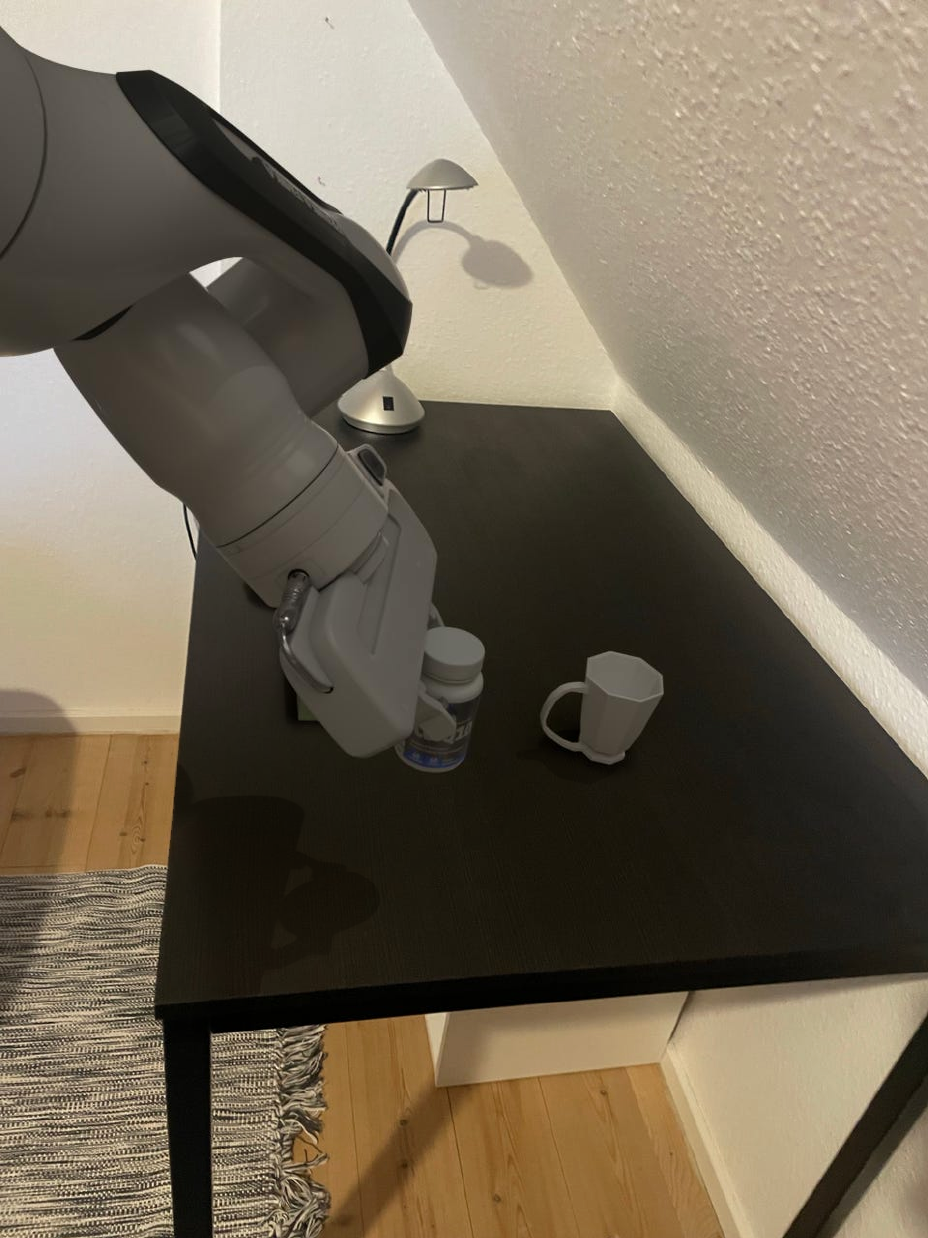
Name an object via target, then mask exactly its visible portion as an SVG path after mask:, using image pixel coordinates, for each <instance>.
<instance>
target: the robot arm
mask: <svg viewBox="0 0 928 1238" xmlns="http://www.w3.org/2000/svg"><path fill="white" fill-rule="evenodd" d="M234 258H239V260H237V261H235V263H234V264H231V266H229V267H228V268H227V269H226V270H225V271H223V272H222V273H221V274H220V275H219V276H217V277H216V278H215V279H213V281H211V282H210V283H208V284H207V285H206V286H204V285H203V283H202V282H200V281H199V280H198V279H197V277H195V276H194V274H192V273H191V272H194V271H196V270H198V269H200V268H202V267H205V266H207V265H210V264H213V263H216V262H219V261H223V260H226V259H234ZM396 264H397V263H395V261H394V260H393V258H392V257H391V255H390V254H389V253H388V251H387V250H386V249H385V247H384V246H383V245H382V244H381V243H380V242H379V241H378V239H377V238H376V237H375V236H374V235H373V234H372V233H370V232H369V231H368V229H366V228H365V227H363V226H362V225H361V224H360V223H358V222H356V221H355V220H353V219H352V218H350V217H348V216H346V215H345V214H344V213H343V212H341V210H340V209H338V208H336V206H334V205H331V204H329V203H327V202H325V200H322V199H321V198H320V197H319V196H317V195H316V194H315V193H314V192H313V191H311V190H310V189H309V188H308V187H307V186H306V185H305V184H303V183H302V182H301V181H300V180H299V179H298V178H296V176H294V175H293V174H292V173H290V171H288V170H287V169H286V168H285V167H284V166H282V165H281V164H280V163H279V162H278V161H276V159H274V157H272V156H271V155H270V154H268V153H267V151H265V150H263V148H262V147H260V146H259V145H258V144H257V143H256V142H255V141H253V140H252V139H251V138H250V137H249V136H247V135H246V134H245V133H244V132H242V131H241V129H239V128H238V127H237V126H236V125H234V124H233V123H231V122H230V121H229V120H227V118H225V117H224V116H223V115H222V114H220V113H219V112H218V111H217V110H215V109H214V108H213V107H212V106H210V105H209V104H207V103H206V102H205V101H203V100H202V99H201V98H199V97H198V96H197V95H196V94H193V93H192V92H191V91H190V90H188V89H187V88H186V87H184V86H182V85H181V84H179V83H177V82H175V81H173V80H172V79H170V78H168V77H166V76H164V75H163V74H161V73H158V72H157V71H155V70H152V69H142V70H141V69H139V70H126V71H116V72H115V73H109V72H101V71H94V70H88V69H83V68H78V67H73V66H70V65H67V64H62V63H60V62H57V61H53V60H50V59H48V58H46V57H43V56H40V55H38V54H36V53H35V52H32V51H30V50H29V49H27V48H25V47H24V46H22V45H21V44H19V43H18V42H17V41H16V40H15V39H14V38H13V37H12V36H11V35H10V34H9V33H8V32H7V31H6V30H5V29H4V28H3V27H2V26H1V25H0V358H10V357H21V356H27V355H32V354H36V353H37V354H38V353H41V352H44V351H47V350H51V349H53V353H54V354H55V356H56V358H57V360H58V361H59V363H60V365H61V366H62V368H63V369H64V371H65V373H66V374H67V375H68V377H69V379H70V380H71V382H72V383H73V384H74V386H75V388H76V389H77V390H78V392H79V393H80V394H81V396H82V397H83V398H84V400H85V401H86V402H87V404H88V405H89V407H90V408H91V409H92V411H93V412H94V414H95V415H96V416H97V418H98V419H99V420H100V422H101V423H102V424H103V425H104V427H105V428H106V429H107V430H108V432H109V433H110V434H111V435H112V436H113V438H114V439H115V441H117V443H118V444H119V445H120V446H121V448H123V450H124V451H125V452H126V454H128V455H129V457H130V458H131V460H132V461H134V462H135V464H136V465H137V466H138V467H139V468H140V469H141V470H142V471H143V472H144V474H145V475H146V476H147V477H148V478H149V479H150V480H151V481H152V482H153V483H154V484H155V485H156V486H158V487H159V488H160V489H162V490H163V491H165V492H167V493H168V494H170V495H172V496H173V497H174V498H176V499H178V501H180V503H182V504H183V505H184V506H185V507H186V508H187V509H188V510H189V511H190V513H191V514H192V516H194V518H195V520H196V521H197V524H198V526H199V528H200V529H201V532H202V534H203V536H204V537H205V539H206V540H207V541H208V543H209V544H210V546H212V547H213V548H214V550H216V551H217V552H218V554H220V556H221V557H222V559H224V560H225V561H226V563H228V565H230V567H231V568H232V569H233V570H234V571H235V572H236V573H237V574H238V575H239V577H240V578H241V579H242V580H243V581H244V582H245V583H246V584H247V585H248V586H249V587H250V588H251V589H252V590H253V592H254V593H255V594H256V595H257V596H258V597H259V598H260V599H261V600H262V601H263V602H264V603H265V604H266V605H267V606H268V607H269V608H273V609H274V608H276V609H275V612H274V614H273V618H272V628H273V630H274V631H275V632H276V633H277V637H278V643H279V645H280V646H279V650H278V651H279V653H278V654H279V655H278V657H279V662H280V666H281V669H282V670H283V673H284V675H285V677H286V679H287V681H288V682H289V684H290V685H291V687H292V688H293V690H294V692H295V693H296V695H297V694H298V695H299V697H300V698H301V699H302V701H303V702H304V703H305V705H306V706H307V707H308V709H309V710H310V711H311V712H312V714H313V715H314V716H315V717H316V719H317V720H318V721H317V722H319V724H320V725H321V727H323V729H324V730H325V731H326V732H327V733H328V735H329V736H330V737H331V738H332V739H333V741H334V742H335V743H336V744H337V746H339V748H341V749H342V750H343V751H344V752H345V753H346V754H347V755H349V756H351V757H354V758H358V759H370V758H372V757H374V756H376V755H379V754H381V753H382V752H384V751H387V750H389V749H391V748H392V747H394V745H396V744H398V743H400V742H402V741H403V740H405V739H406V738H408V737H409V736H410V735H411V734H412V731H413V728H414V725H418V726H419V727H420V728H421V729H422V730H423V731H424V733H425V734H426V735H427V736H428V737H429V738H430V739H431V740H433V741H441V740H443V739H445V738H447V737H449V736H451V735H453V734H454V733H455V732H456V728H457V725H456V723H457V712H456V710H455V709H454V708H452V707H451V705H450V703H449V702H448V701H447V700H446V699H445V698H444V696H443V697H441V698H439V699H437V700H435V699H434V698H432V697H431V696H429V695H427V694H426V693H425V692H426V686H425V684H424V683H423V682H422V681H421V680H420V678H421V671H422V664H423V657H424V650H425V643H426V636H427V631H428V630H430V629H433V628H437V627H446V626H445V624H444V621H443V619H442V616H441V615H440V613H439V610H438V609H437V607H436V606H435V605H434V603H433V602H432V600H433V592H434V587H435V586H434V584H435V578H436V572H437V564H438V553H437V551H436V548H435V547H436V546H435V544H434V543H433V540H432V538H431V536H430V534H429V532H428V531H427V529H426V527H425V526H424V525H423V523H422V522H421V520H420V519H419V517H418V516H417V514H416V513H415V512H414V510H413V509H412V507H411V506H410V505H409V503H408V502H407V500H406V499H405V498H404V495H403V494H402V493H401V492H400V491H399V489H398V488H397V487H396V486H395V484H394V483H393V482H391V481H390V480H389V479H388V478H386V475H387V466H386V463H385V461H384V460H383V458H382V457H381V456H380V455H379V453H378V452H377V450H375V448H374V447H373V446H372V445H370V444H368V443H365V444H362V445H359V446H357V447H355V448H353V449H350V450H348V451H345V450H344V449H343V447H342V446H341V445H340V443H339V442H338V441H337V440H336V438H334V436H333V435H332V434H331V433H330V432H328V431H327V430H326V429H324V428H323V427H321V426H320V425H319V424H317V423H316V422H315V421H313V420H312V419H314V418H315V417H316V416H318V415H319V414H320V413H321V412H322V411H323V410H325V409H326V408H328V407H329V406H330V405H331V404H333V403H334V402H335V401H337V400H338V399H339V398H341V397H342V396H343V395H344V394H346V393H347V392H348V391H349V390H351V389H352V388H353V387H354V386H357V384H359V383H360V382H361V381H365V380H367V379H368V378H370V377H372V376H373V375H375V374H376V373H378V372H380V370H382V369H384V368H385V367H387V366H389V365H390V364H391V363H393V362H395V361H396V360H398V359H400V358H401V357H402V356H403V355H404V352H405V348H406V345H407V341H408V338H409V333H410V329H411V324H412V317H413V306H414V304H413V302H412V300H411V298H410V293H409V290H408V286H407V284H406V281H405V280H404V277H403V275H402V273H401V271H400V269H399V268H398V266H397V265H396Z"/></svg>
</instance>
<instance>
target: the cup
mask: <svg viewBox="0 0 928 1238" xmlns="http://www.w3.org/2000/svg"><path fill="white" fill-rule="evenodd" d="M569 693H579V694H582V699H581V705H580V707H581V708H580V723H579V725H580V729H579V730H580V731H579V732H580V733H579V734H578V735H579V736H578V742H572V741H569V740H567V739H564V738H562V737H561V736H560V735H558V734H557V733H555V732H554V731H553V730H551V729H550V728H549V727H548V725H547V718H548V716H549V714H550V712H551V710H552V708H553V706H554V705H555V703H556V701H558V700H559V699H560V698H562V697H564V695H565V694H569ZM664 694H665V693H664V676H663V674H662V673H660V671H658V670H656V669H655V668H654V667H653V666H651V665H650V664H649V663H647V662H646V661H645V660H643V658H641V657H638V656H634V655H629V654H625V653H622V652H616V651H612V650H608V651H605V652H601V653H599V654H596V655H592V656H590V657H587V660H586V667H585V677H584V681H572V682H567V683H563V684H561V685H559V686H558V687H557V688H555V689H554V690H553V691H551V693H550V694H549V695H548V697H547V699H546V700H545V702H544V703H543V706H542V708H541V711H540V713H539V719H540V725H541V727H542V729H543V731H544V733H545V734H546V736H547V737H548V738H550V739H551V740H552V741H554V742H555V743H556V744H558V745H559V746H561V747H563V748H565V749H567V750H570V751H572V752H582V754H583V755H585V756H586V757H587V758H588V760H590V761H592V762H596V763H601V764H606V765H609V766H610V765H613V764H615V763H618V762H620V761H622V760H624V759H625V757H626V751H627V750H629V749H630V748H631V746H632V745H633V744H634V742H636V740H637V739H638V738H639V736H641V734H642V732H643V730H644V728H645V727H646V725H647V723H648V722H649V720H650V718H651V716H652V714H653V713H654V712H655V709H656V708H657V706H658V705H659V703H660V702H661V700H662V697H663V696H664Z"/></svg>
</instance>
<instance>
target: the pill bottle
mask: <svg viewBox="0 0 928 1238" xmlns="http://www.w3.org/2000/svg"><path fill="white" fill-rule="evenodd" d="M485 655H486V650H485V645H484V644H483V643H482V641H481V640H480V639H479V638H478V637H477V636H476V635H474V634H472V633H470V632H468V631H466V630H464V629H461V628H457V627H452V626H451V627H450V626H445V627H437V628H433V629H430V630H428V631H427V636H426V643H425V650H424V657H423V664H422V671H421V678H420V680H421V681H422V682H423V683H424V684H425V686H426V692H425V693H426V694H427V695H429V696H431V697H432V698H434V699H435V700H437V699H439V698H441V697H443V696H444V698H445V699H446V700H447V701H448V702H449V703H450V705H451V707H452V708H454V709H455V710H456V712H457V723H456V725H457V728H456V732H455V733H454V734H453V735H451V736H449V737H447V738H445V739H443V740H441V741H433V740H431V739H430V738H429V737H428V736H427V735H426V734H425V733H424V731H423V730H422V729H421V728H420V727H419V726H418V725H414V728H413V731H412V734H411V735H410V736H409V737H408V738H406V739H405V740H403V741H402V742H400V743H398V744H396V745H394V746H393V747H394V750H395V752H396V754H397V756H398V757H399V759H401V761H402V762H404V763H405V764H406V765H408V766H409V767H411V768H413V769H415V770H418V771H421V772H426V773H445V772H449V771H452V770H454V769H455V768H457V767H459V766H460V765H461V764H462V763H463V761H464V760H465V757H466V755H467V751H468V747H469V743H470V739H471V736H472V732H473V727H474V723H475V719H476V715H477V713H478V708H479V705H480V699H481V696H482V693H483V689H484V676H483V673H482V669H483V665H484V660H485Z"/></svg>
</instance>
